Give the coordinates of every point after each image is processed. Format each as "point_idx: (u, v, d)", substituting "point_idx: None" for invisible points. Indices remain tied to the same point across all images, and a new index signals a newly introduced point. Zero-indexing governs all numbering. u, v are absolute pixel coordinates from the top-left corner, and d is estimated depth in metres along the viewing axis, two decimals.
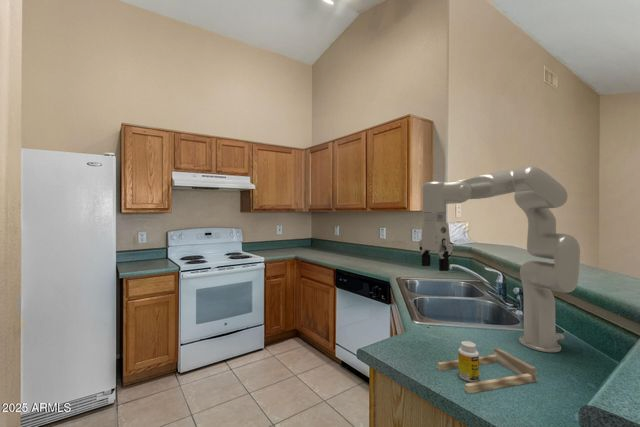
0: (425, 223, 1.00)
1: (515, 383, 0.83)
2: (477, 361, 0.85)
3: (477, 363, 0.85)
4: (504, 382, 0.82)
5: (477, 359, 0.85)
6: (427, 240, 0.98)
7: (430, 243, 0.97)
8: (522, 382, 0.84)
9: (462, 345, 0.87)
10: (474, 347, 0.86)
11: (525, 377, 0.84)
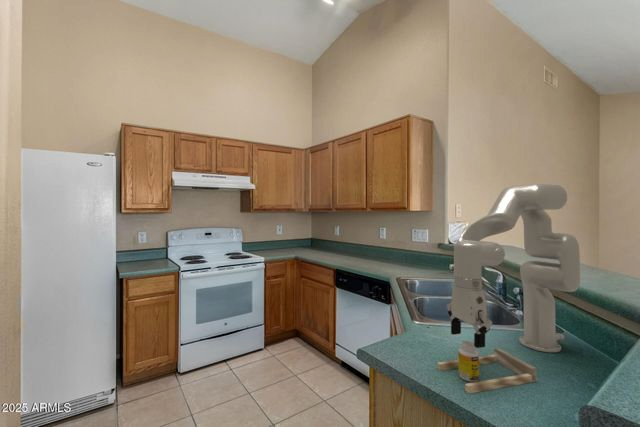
0: (457, 288, 0.88)
1: (515, 383, 0.83)
2: (477, 361, 0.85)
3: (477, 363, 0.85)
4: (504, 382, 0.82)
5: (477, 359, 0.85)
6: (459, 308, 0.87)
7: (463, 313, 0.86)
8: (522, 382, 0.84)
9: (462, 345, 0.87)
10: (474, 347, 0.86)
11: (525, 377, 0.84)
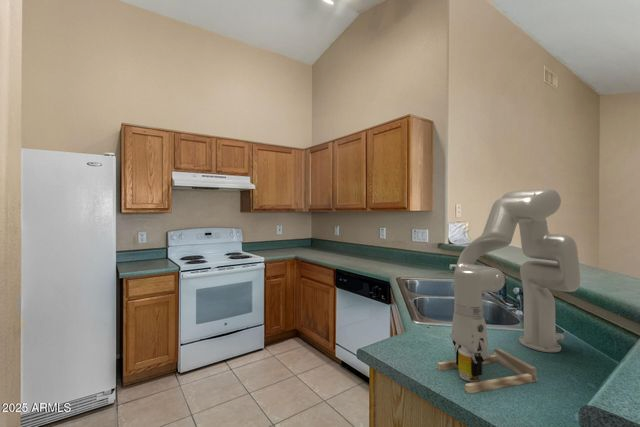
0: (457, 315, 0.88)
1: (515, 383, 0.83)
2: None
3: None
4: (504, 382, 0.82)
5: None
6: (460, 335, 0.87)
7: (464, 340, 0.86)
8: (522, 382, 0.84)
9: None
10: None
11: (525, 377, 0.84)
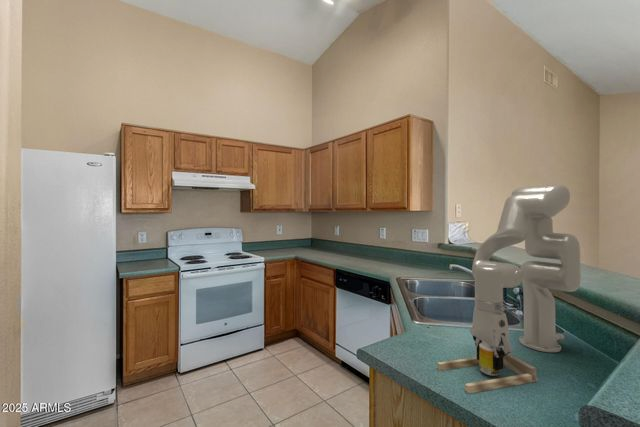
0: (478, 310, 0.90)
1: (515, 383, 0.83)
2: None
3: None
4: (504, 382, 0.82)
5: None
6: (481, 330, 0.89)
7: (485, 335, 0.88)
8: (522, 382, 0.84)
9: None
10: None
11: (525, 377, 0.84)
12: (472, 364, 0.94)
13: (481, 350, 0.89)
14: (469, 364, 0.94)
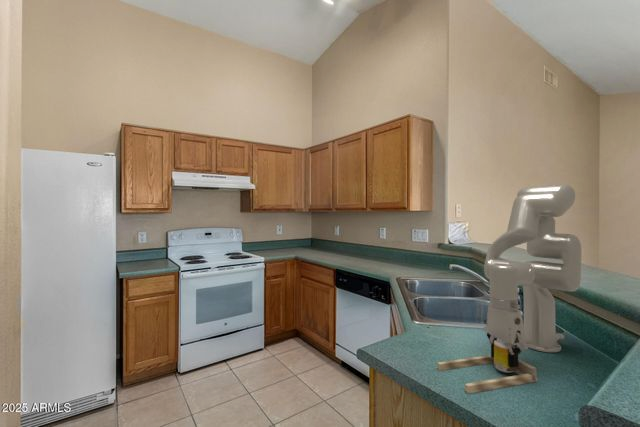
0: (493, 308, 0.92)
1: (515, 383, 0.83)
2: None
3: None
4: (504, 382, 0.82)
5: None
6: (496, 328, 0.91)
7: (500, 332, 0.89)
8: (522, 382, 0.84)
9: None
10: None
11: (525, 377, 0.84)
12: (472, 364, 0.94)
13: (496, 347, 0.90)
14: (469, 364, 0.94)
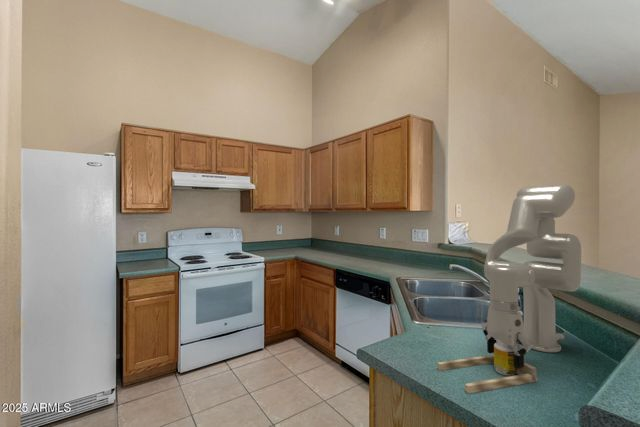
0: None
1: (515, 383, 0.83)
2: None
3: None
4: (504, 382, 0.82)
5: (513, 354, 0.88)
6: (496, 329, 0.91)
7: (501, 334, 0.89)
8: (522, 382, 0.84)
9: (498, 340, 0.90)
10: None
11: (525, 377, 0.84)
12: (472, 364, 0.94)
13: (496, 350, 0.90)
14: (469, 364, 0.94)
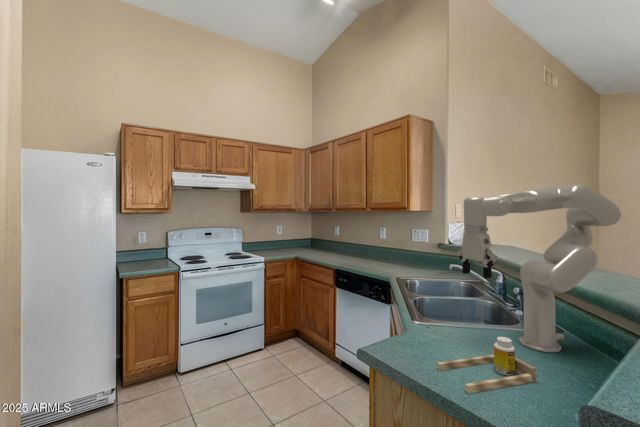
0: (467, 235, 1.10)
1: (515, 383, 0.83)
2: (513, 356, 0.88)
3: (513, 358, 0.88)
4: (504, 382, 0.82)
5: (513, 354, 0.88)
6: (469, 250, 1.09)
7: (473, 253, 1.07)
8: (522, 382, 0.84)
9: (498, 340, 0.90)
10: (510, 342, 0.89)
11: (525, 377, 0.84)
12: (472, 364, 0.94)
13: (496, 350, 0.90)
14: (469, 364, 0.94)
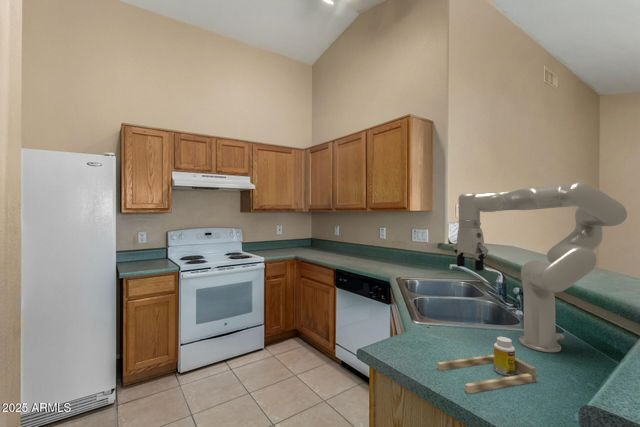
0: (461, 229, 1.15)
1: (515, 383, 0.83)
2: (513, 356, 0.88)
3: (513, 358, 0.88)
4: (504, 382, 0.82)
5: (513, 354, 0.88)
6: (463, 244, 1.14)
7: (466, 246, 1.12)
8: (522, 382, 0.84)
9: (498, 340, 0.90)
10: (510, 342, 0.89)
11: (525, 377, 0.84)
12: (472, 364, 0.94)
13: (496, 350, 0.90)
14: (469, 364, 0.94)
